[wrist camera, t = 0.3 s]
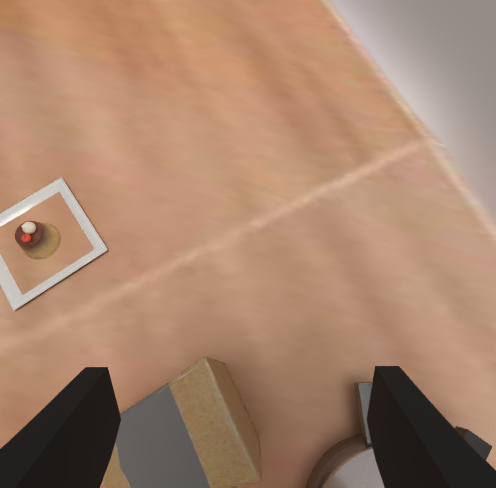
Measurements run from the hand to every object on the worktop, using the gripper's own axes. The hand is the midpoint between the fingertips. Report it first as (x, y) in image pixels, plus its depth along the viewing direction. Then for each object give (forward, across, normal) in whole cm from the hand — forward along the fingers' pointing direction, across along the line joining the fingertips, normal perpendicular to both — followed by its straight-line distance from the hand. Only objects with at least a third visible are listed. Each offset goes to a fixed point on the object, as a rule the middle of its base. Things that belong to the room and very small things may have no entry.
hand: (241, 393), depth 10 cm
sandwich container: (+18, +8, +26) cm, 32 cm away
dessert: (+32, +26, +11) cm, 43 cm away
